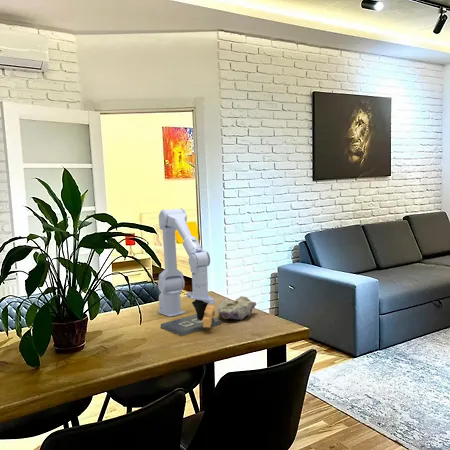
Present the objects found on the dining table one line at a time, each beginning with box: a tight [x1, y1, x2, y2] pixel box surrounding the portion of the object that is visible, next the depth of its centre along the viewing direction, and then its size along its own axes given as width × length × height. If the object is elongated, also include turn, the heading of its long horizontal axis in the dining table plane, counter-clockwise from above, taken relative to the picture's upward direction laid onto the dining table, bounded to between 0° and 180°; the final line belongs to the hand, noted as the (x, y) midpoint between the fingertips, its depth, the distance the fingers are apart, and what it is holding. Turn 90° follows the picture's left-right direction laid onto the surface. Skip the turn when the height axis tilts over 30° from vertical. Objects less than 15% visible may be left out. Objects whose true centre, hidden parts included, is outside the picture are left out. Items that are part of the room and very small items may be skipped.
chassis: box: [160, 313, 222, 337], centre depth 176 cm, size 13×19×2 cm
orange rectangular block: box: [203, 304, 215, 328], centre depth 174 cm, size 16×4×4 cm, turn 177°
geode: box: [216, 295, 257, 321], centre depth 185 cm, size 17×9×15 cm
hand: (200, 319), depth 173 cm, fingers closed, pressing on orange rectangular block
